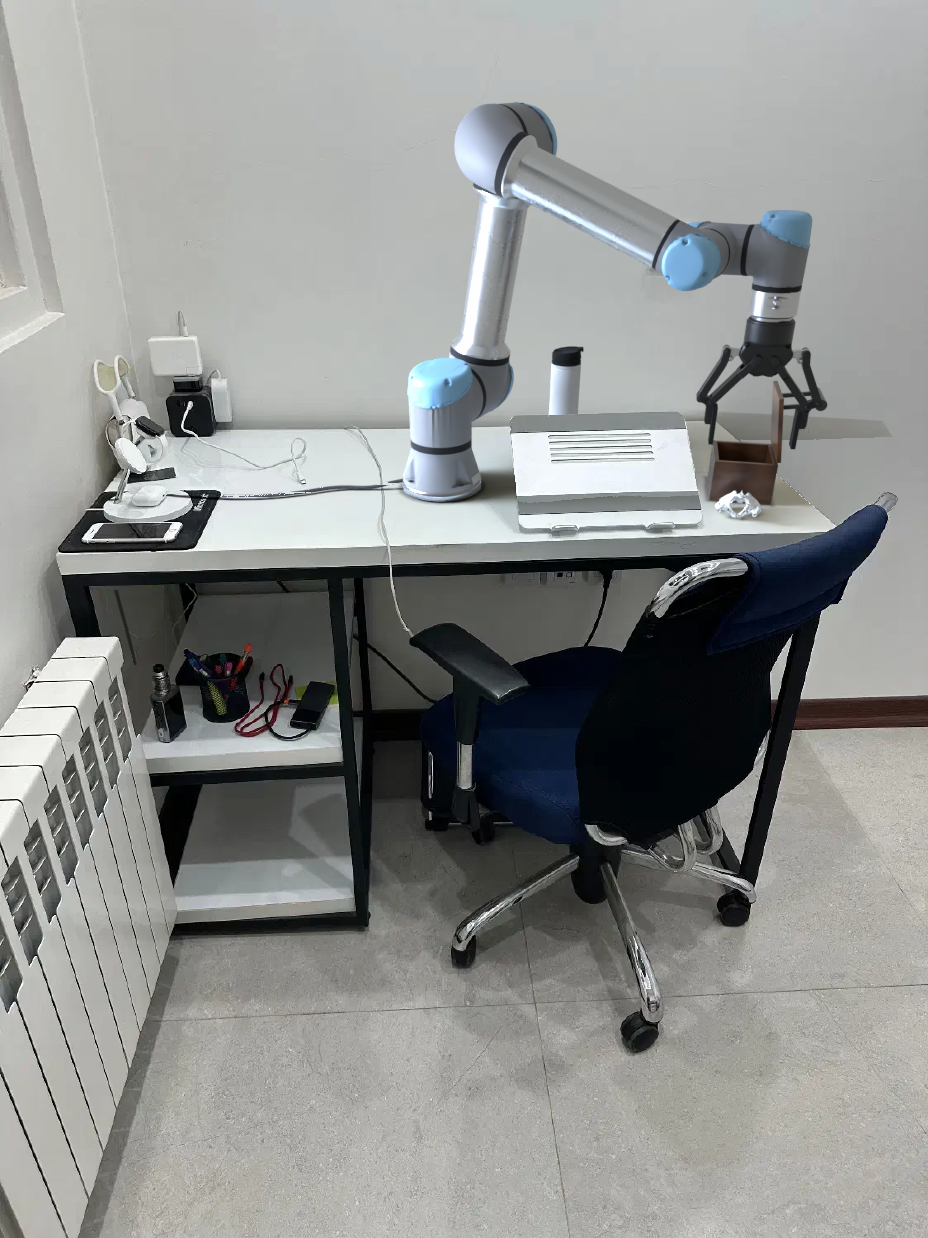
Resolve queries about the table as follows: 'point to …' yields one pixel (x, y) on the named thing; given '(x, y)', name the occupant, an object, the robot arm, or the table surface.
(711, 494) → the desk box
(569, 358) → the travel mug
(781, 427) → the lid
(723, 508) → the hip bone replica
